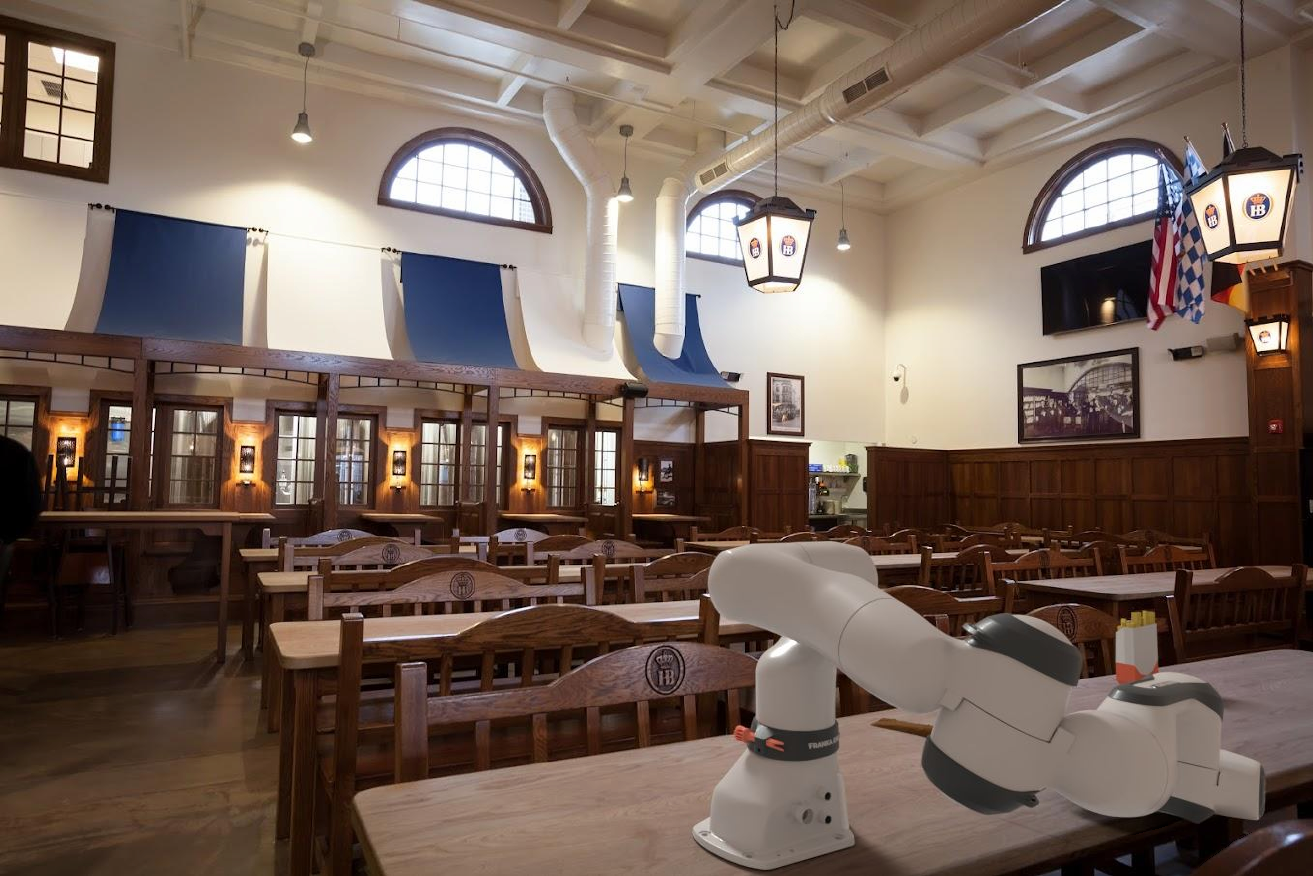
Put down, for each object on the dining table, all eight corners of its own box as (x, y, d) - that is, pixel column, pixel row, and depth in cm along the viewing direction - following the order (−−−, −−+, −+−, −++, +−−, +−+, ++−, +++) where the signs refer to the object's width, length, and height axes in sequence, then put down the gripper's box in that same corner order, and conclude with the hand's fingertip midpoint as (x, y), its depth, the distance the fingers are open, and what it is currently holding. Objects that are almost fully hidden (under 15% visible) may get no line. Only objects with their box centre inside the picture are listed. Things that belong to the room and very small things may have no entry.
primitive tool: (869, 727, 156) (869, 708, 156) (883, 721, 160) (883, 703, 160) (964, 750, 142) (964, 730, 142) (977, 743, 146) (977, 724, 146)
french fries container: (1114, 690, 182) (1112, 611, 184) (1138, 683, 188) (1135, 607, 189) (1135, 694, 179) (1132, 614, 180) (1159, 687, 185) (1156, 610, 186)
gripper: (1104, 800, 110) (1007, 772, 120) (1157, 766, 123) (1065, 744, 134) (1103, 754, 110) (1006, 730, 121) (1155, 725, 123) (1064, 706, 134)
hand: (1037, 737), depth 127 cm, fingers closed
